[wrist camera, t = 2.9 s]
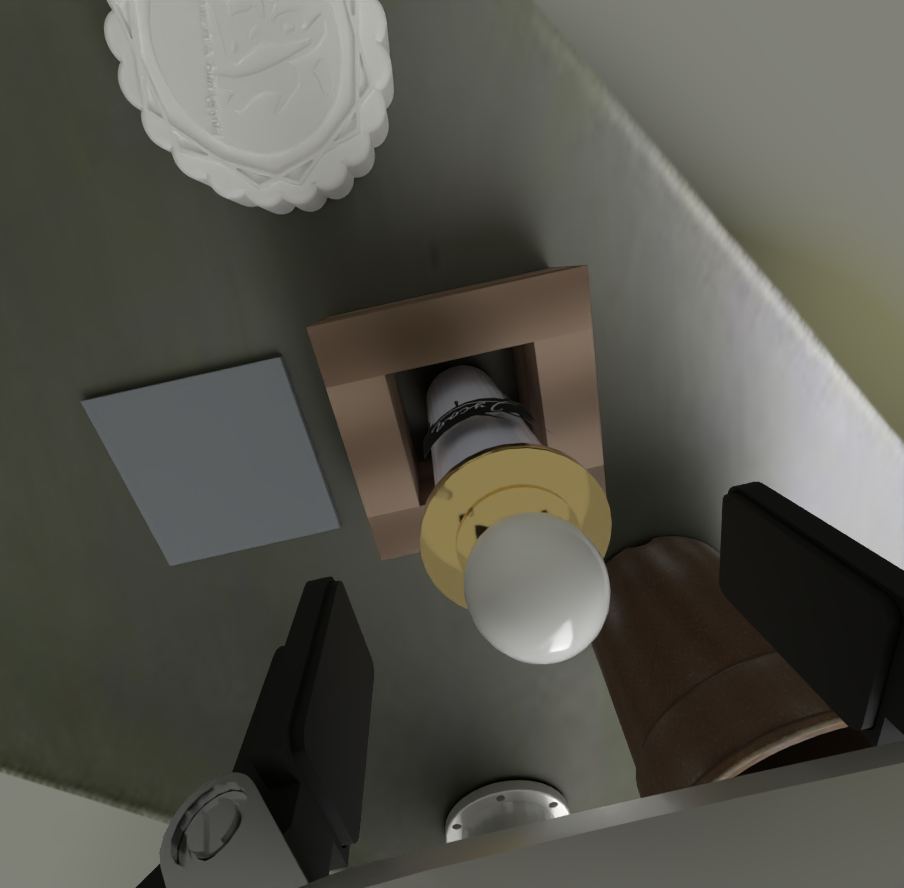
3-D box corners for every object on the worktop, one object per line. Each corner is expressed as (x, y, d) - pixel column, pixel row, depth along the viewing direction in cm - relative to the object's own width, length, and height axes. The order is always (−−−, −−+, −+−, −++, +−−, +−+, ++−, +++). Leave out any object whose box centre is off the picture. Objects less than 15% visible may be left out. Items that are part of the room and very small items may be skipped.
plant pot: (698, 682, 39) (874, 932, 24) (530, 663, 37) (611, 929, 22) (785, 529, 34) (1080, 729, 19) (595, 494, 31) (762, 693, 16)
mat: (341, 524, 30) (340, 527, 30) (173, 561, 30) (170, 566, 30) (282, 355, 26) (279, 357, 26) (86, 399, 26) (80, 401, 26)
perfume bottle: (516, 422, 29) (702, 687, 10) (434, 452, 29) (473, 762, 11) (490, 339, 27) (664, 483, 8) (402, 372, 27) (379, 582, 8)
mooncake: (392, 224, 24) (389, 215, 21) (164, 205, 23) (122, 194, 20) (396, -65, 20) (392, -134, 17) (118, -106, 19) (54, -188, 16)
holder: (571, 467, 30) (607, 510, 25) (387, 508, 30) (381, 560, 25) (549, 267, 26) (587, 265, 20) (329, 316, 26) (306, 327, 20)
